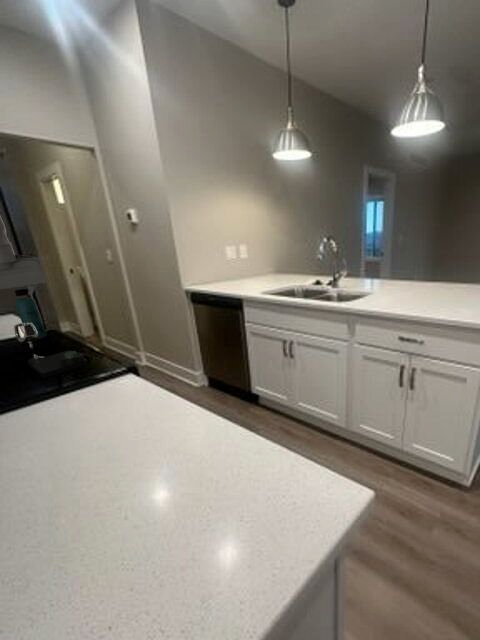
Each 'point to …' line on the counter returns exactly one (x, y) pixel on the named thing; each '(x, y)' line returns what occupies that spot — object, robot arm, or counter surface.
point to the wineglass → (27, 336)
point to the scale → (56, 364)
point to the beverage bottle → (30, 312)
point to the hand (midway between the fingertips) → (14, 302)
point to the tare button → (70, 354)
